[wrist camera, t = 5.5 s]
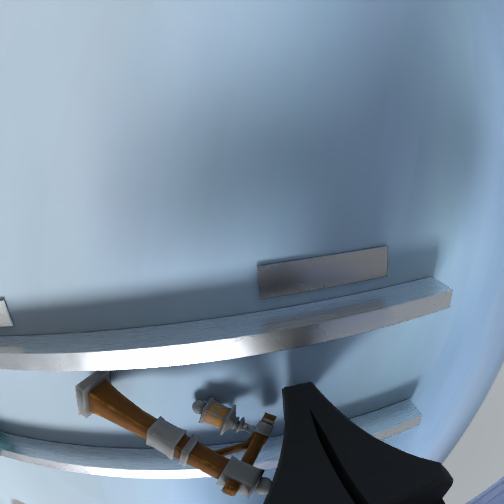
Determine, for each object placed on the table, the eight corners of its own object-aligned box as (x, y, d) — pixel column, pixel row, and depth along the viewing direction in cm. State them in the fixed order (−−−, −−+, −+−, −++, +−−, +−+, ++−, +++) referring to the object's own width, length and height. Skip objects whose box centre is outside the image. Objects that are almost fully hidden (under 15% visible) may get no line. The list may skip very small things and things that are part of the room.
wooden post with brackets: (286, 438, 12) (258, 515, 8) (134, 369, 14) (75, 417, 10) (300, 414, 12) (275, 496, 7) (137, 341, 13) (71, 388, 9)
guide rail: (406, 407, 14) (427, 436, 12) (-1, 438, 12) (-14, 462, 10) (434, 237, 11) (474, 254, 9) (-73, 308, 9) (-97, 327, 7)
